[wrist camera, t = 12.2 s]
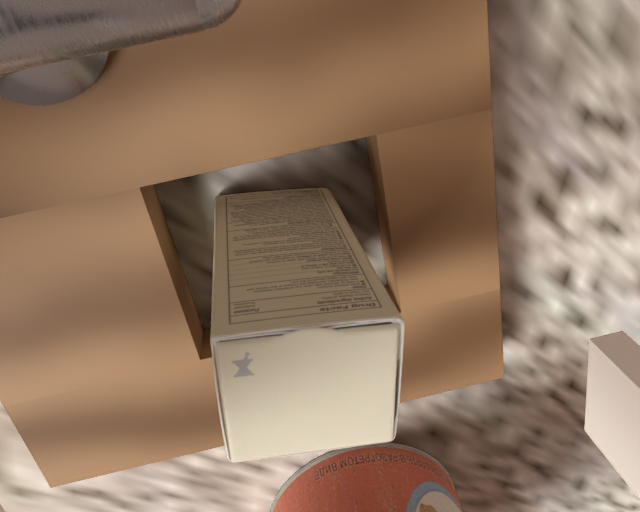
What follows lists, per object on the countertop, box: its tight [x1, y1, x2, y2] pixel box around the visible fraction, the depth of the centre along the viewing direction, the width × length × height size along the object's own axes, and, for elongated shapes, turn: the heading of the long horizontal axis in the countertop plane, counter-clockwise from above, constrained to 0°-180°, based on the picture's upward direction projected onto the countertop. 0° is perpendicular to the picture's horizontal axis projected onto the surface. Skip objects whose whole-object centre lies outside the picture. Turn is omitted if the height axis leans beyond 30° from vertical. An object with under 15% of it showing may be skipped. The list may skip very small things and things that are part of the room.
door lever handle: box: [0, 0, 242, 106], centre depth 12 cm, size 5×9×12 cm, turn 101°
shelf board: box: [0, 0, 504, 488], centre depth 22 cm, size 23×22×2 cm
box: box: [210, 188, 405, 462], centre depth 20 cm, size 5×4×11 cm
